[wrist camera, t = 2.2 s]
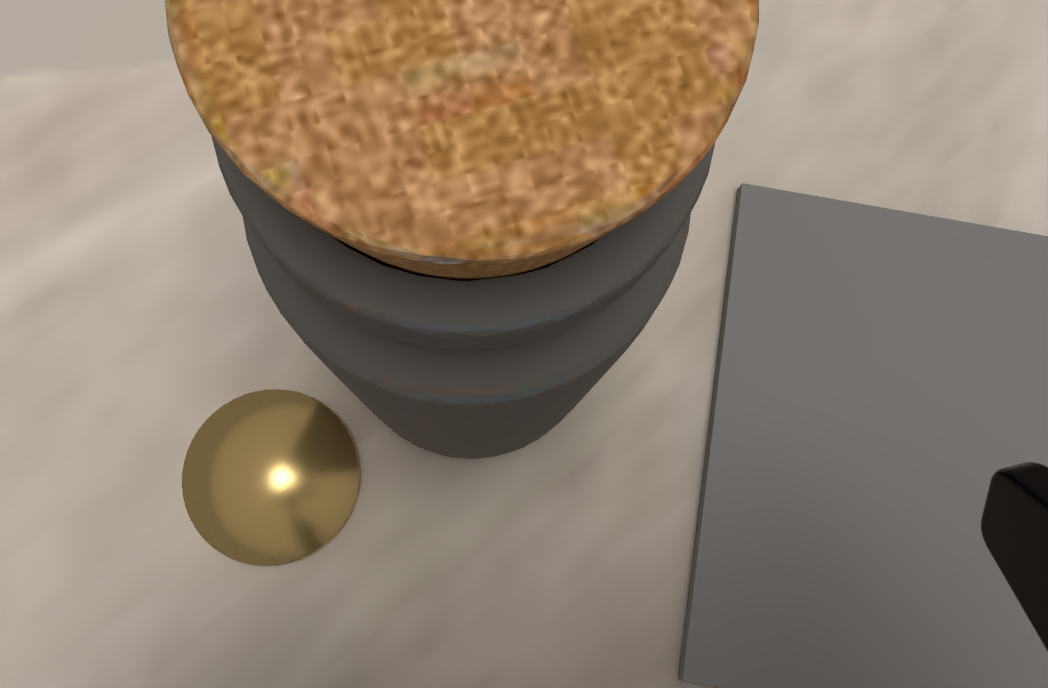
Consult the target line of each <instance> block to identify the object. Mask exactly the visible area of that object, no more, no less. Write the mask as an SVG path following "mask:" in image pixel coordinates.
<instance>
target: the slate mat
mask: <svg viewBox="0 0 1048 688" xmlns="http://www.w3.org/2000/svg"><path fill="white" fill-rule="evenodd" d="M1025 462H1036V463H1040V464H1043V465H1045V466H1047V467H1048V236H1042V235H1036V234H1031V233H1025V232H1019V231H1013V230H1008V229H1002V228H996V227H990V226H985V225H979V224H973V223H967V222H962V221H956V220H950V219H944V218H939V217H933V216H927V215H921V214H916V213H910V212H904V211H898V210H893V209H887V208H881V207H875V206H870V205H864V204H858V203H852V202H847V201H841V200H835V199H829V198H824V197H818V196H812V195H806V194H801V193H795V192H789V191H783V190H778V189H772V188H766V187H760V186H755V185H749V184H743V183H742V184H741V186H740V187H739V188H738V191H737V200H736V208H735V216H734V224H733V233H732V241H731V249H730V257H729V266H728V274H727V282H726V291H725V299H724V307H723V315H722V324H721V332H720V340H719V348H718V357H717V365H716V373H715V382H714V390H713V398H712V406H711V415H710V423H709V431H708V439H707V448H706V456H705V464H704V473H703V481H702V489H701V497H700V506H699V514H698V522H697V530H696V539H695V547H694V555H693V564H692V572H691V580H690V588H689V597H688V605H687V613H686V621H685V630H684V638H683V646H682V654H681V663H680V671H679V679H680V680H681V681H682V682H688V683H694V684H700V685H706V686H713V687H719V688H1048V651H1047V650H1046V648H1045V646H1044V645H1043V643H1042V641H1041V639H1040V638H1039V636H1038V634H1037V632H1036V631H1035V629H1034V627H1033V626H1032V624H1031V622H1030V620H1029V619H1028V617H1027V615H1026V613H1025V612H1024V610H1023V608H1022V607H1021V605H1020V603H1019V601H1018V600H1017V598H1016V596H1015V594H1014V593H1013V591H1012V589H1011V588H1010V586H1009V584H1008V582H1007V581H1006V579H1005V577H1004V576H1003V574H1002V572H1001V570H1000V569H999V567H998V565H997V563H996V562H995V560H994V558H993V557H992V555H991V553H990V551H989V550H988V548H987V546H986V544H985V542H984V539H983V536H982V532H981V518H982V514H983V510H984V506H985V501H986V497H987V493H988V489H989V485H990V481H991V478H992V476H993V474H994V473H995V472H996V471H997V470H999V469H1002V468H1006V467H1009V466H1013V465H1017V464H1021V463H1025Z"/></svg>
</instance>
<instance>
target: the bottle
mask: <svg viewBox="0 0 1048 688" xmlns="http://www.w3.org/2000/svg"><path fill="white" fill-rule="evenodd" d="M165 7H166V16H167V27H168V35H169V39H170V43H171V46H172V50H173V53H174V56H175V60H176V63H177V67H178V69H179V72H180V75H181V77H182V80H183V82H184V85H185V88H186V90H187V93H188V95H189V97H190V99H191V100H192V102H193V104H194V106H195V108H196V110H197V111H198V113H199V115H200V117H201V119H202V121H203V122H204V124H205V126H206V128H207V130H208V132H209V133H210V134H211V136H212V140H213V143H214V147H215V151H216V155H217V159H218V163H219V167H220V169H221V172H222V175H223V177H224V180H225V182H226V185H227V187H228V190H229V192H230V195H231V196H232V198H233V200H234V202H235V203H236V205H237V207H238V208H239V210H240V212H241V214H242V215H243V220H244V225H245V231H246V237H247V241H248V244H249V247H250V250H251V253H252V256H253V258H254V261H255V264H256V267H257V270H258V272H259V274H260V277H261V279H262V281H263V283H264V285H265V287H266V289H267V291H268V293H269V294H270V296H271V298H272V299H273V301H274V303H275V304H276V306H277V308H278V309H279V311H280V313H281V314H282V315H283V317H284V318H285V319H286V320H287V322H288V323H289V324H290V325H291V327H292V328H293V329H294V330H295V332H296V333H297V334H298V335H299V336H300V338H301V339H302V340H303V341H304V343H305V344H306V345H307V346H308V347H309V348H310V349H311V350H312V351H313V352H314V353H315V354H316V355H317V357H318V358H319V359H320V360H321V361H322V362H323V363H324V364H325V365H326V366H327V367H328V368H329V369H330V370H331V371H332V372H333V373H334V374H335V375H336V376H337V377H338V378H339V379H340V380H341V381H342V382H343V383H344V384H345V385H346V386H347V387H348V388H349V389H350V390H351V391H352V392H353V393H354V394H355V395H356V396H357V397H358V398H359V399H360V400H361V401H362V402H363V403H364V404H365V405H366V406H367V407H368V408H369V409H370V410H371V411H372V412H373V413H374V414H375V415H376V416H377V417H378V418H379V419H380V420H381V421H383V422H384V423H385V424H386V425H387V426H388V427H390V428H391V429H392V430H393V431H394V432H396V433H397V434H398V435H400V436H401V437H403V438H405V439H406V440H408V441H410V442H411V443H413V444H415V445H417V446H419V447H422V448H424V449H426V450H429V451H432V452H435V453H438V454H442V455H446V456H451V457H460V458H481V457H491V456H496V455H500V454H504V453H508V452H511V451H514V450H516V449H519V448H522V447H524V446H526V445H528V444H530V443H531V442H533V441H535V440H537V439H539V438H540V437H542V436H543V435H544V434H546V433H547V432H548V431H549V430H550V429H552V428H553V427H554V426H555V425H556V424H558V423H559V422H560V421H561V420H562V419H563V418H564V417H565V416H566V415H567V414H568V413H569V412H570V411H571V410H572V409H573V408H574V407H575V406H576V405H577V404H578V402H579V401H580V400H581V399H582V398H583V397H584V396H585V395H586V394H587V393H588V391H589V390H590V389H591V388H592V387H593V386H594V385H595V384H596V383H597V382H598V381H599V379H600V378H601V377H602V376H603V375H604V374H605V373H606V372H607V371H608V370H609V369H610V367H611V366H612V365H613V364H614V363H615V362H616V361H617V360H618V359H619V358H620V356H621V355H622V354H623V353H624V352H625V351H626V350H627V348H628V347H629V346H630V345H631V343H632V342H633V341H634V340H635V339H636V337H637V336H638V335H639V334H640V332H641V331H642V330H643V328H644V327H645V325H646V324H647V322H648V321H649V319H650V317H651V316H652V314H653V313H654V311H655V310H656V308H657V307H658V305H659V303H660V302H661V300H662V299H663V297H664V295H665V293H666V292H667V290H668V288H669V286H670V284H671V282H672V280H673V278H674V275H675V273H676V271H677V268H678V266H679V264H680V260H681V256H682V253H683V249H684V246H685V242H686V239H687V235H688V231H689V223H690V215H691V211H692V209H693V207H694V205H695V203H696V202H697V200H698V198H699V195H700V193H701V190H702V188H703V185H704V183H705V181H706V178H707V176H708V172H709V168H710V163H711V159H712V154H713V150H714V145H715V141H716V139H717V138H718V136H719V134H720V133H721V131H722V129H723V128H724V126H725V124H726V123H727V121H728V119H729V117H730V115H731V112H732V110H733V108H734V106H735V104H736V101H737V99H738V97H739V95H740V93H741V90H742V88H743V86H744V84H745V82H746V79H747V75H748V71H749V67H750V63H751V59H752V55H753V50H754V45H755V40H756V35H757V29H758V24H759V0H165Z"/></svg>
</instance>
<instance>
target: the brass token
mask: <svg viewBox="0 0 1048 688" xmlns="http://www.w3.org/2000/svg"><path fill="white" fill-rule="evenodd" d="M359 483H360V464H359V457H358V453H357V449H356V446H355V444H354V441H353V439H352V436H351V435H350V433H349V431H348V430H347V428H346V426H345V425H344V424H343V423H342V421H341V420H340V419H339V418H338V417H337V416H336V415H335V414H334V413H333V412H332V411H331V410H330V409H328V408H327V407H326V406H324V405H323V404H321V403H320V402H318V401H316V400H314V399H313V398H311V397H308V396H306V395H303V394H300V393H296V392H292V391H286V390H264V391H257V392H253V393H249V394H246V395H243V396H241V397H238V398H236V399H234V400H232V401H230V402H229V403H227V404H225V405H223V406H222V407H221V408H220V409H218V410H217V411H216V412H214V413H213V414H212V415H211V416H210V417H209V418H208V419H207V420H206V421H205V422H204V424H203V425H202V426H201V427H200V429H199V430H198V432H197V433H196V435H195V437H194V438H193V440H192V442H191V444H190V447H189V449H188V451H187V455H186V458H185V461H184V467H183V473H182V490H183V498H184V502H185V506H186V509H187V512H188V514H189V517H190V519H191V521H192V523H193V524H194V526H195V528H196V529H197V531H198V532H199V533H200V535H201V536H202V537H203V538H204V539H205V540H206V541H207V542H208V543H209V544H210V545H211V546H212V547H214V548H215V549H216V550H218V551H219V552H221V553H222V554H224V555H226V556H228V557H230V558H232V559H235V560H237V561H240V562H244V563H248V564H254V565H278V564H284V563H289V562H292V561H295V560H298V559H301V558H304V557H306V556H308V555H310V554H312V553H314V552H315V551H317V550H318V549H320V548H322V547H323V546H324V545H325V544H327V543H328V542H329V541H330V540H331V539H332V538H333V537H334V536H335V535H336V534H337V533H338V532H339V531H340V529H341V528H342V527H343V525H344V524H345V523H346V521H347V519H348V517H349V515H350V514H351V512H352V509H353V507H354V504H355V502H356V498H357V495H358V491H359Z"/></svg>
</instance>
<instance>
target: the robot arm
mask: <svg viewBox="0 0 1048 688" xmlns="http://www.w3.org/2000/svg"><path fill="white" fill-rule="evenodd" d="M981 532H982V536H983V539H984V542H985V544H986V546H987V548H988V550H989V551H990V553H991V555H992V557H993V558H994V560H995V562H996V563H997V565H998V567H999V569H1000V570H1001V572H1002V574H1003V576H1004V577H1005V579H1006V581H1007V582H1008V584H1009V586H1010V588H1011V589H1012V591H1013V593H1014V594H1015V596H1016V598H1017V600H1018V601H1019V603H1020V605H1021V607H1022V608H1023V610H1024V612H1025V613H1026V615H1027V617H1028V619H1029V620H1030V622H1031V624H1032V626H1033V627H1034V629H1035V631H1036V632H1037V634H1038V636H1039V638H1040V639H1041V641H1042V643H1043V645H1044V646H1045V648H1046V650H1047V651H1048V467H1047V466H1045V465H1043V464H1040V463H1036V462H1025V463H1021V464H1017V465H1013V466H1009V467H1006V468H1002V469H999V470H997V471H996V472H995V473H994V474H993V476H992V478H991V481H990V485H989V489H988V493H987V497H986V501H985V506H984V510H983V514H982V518H981Z"/></svg>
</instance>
